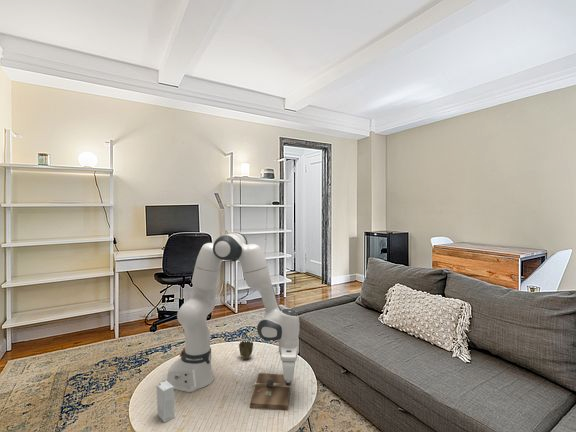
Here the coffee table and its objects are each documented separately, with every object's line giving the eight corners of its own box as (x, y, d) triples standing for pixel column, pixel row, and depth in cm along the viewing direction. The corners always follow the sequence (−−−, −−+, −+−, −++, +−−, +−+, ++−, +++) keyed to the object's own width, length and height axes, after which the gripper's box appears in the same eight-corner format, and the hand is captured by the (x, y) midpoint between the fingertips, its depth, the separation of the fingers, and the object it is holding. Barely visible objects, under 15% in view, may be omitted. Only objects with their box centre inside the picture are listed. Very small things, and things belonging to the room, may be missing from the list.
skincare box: (175, 417, 117) (175, 386, 117) (163, 423, 114) (163, 391, 114) (167, 409, 121) (167, 379, 121) (156, 415, 118) (156, 384, 118)
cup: (250, 362, 159) (250, 347, 158) (236, 361, 160) (236, 345, 160) (254, 355, 166) (255, 341, 166) (241, 354, 167) (241, 339, 167)
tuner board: (249, 408, 123) (250, 402, 123) (258, 377, 145) (258, 372, 145) (287, 410, 123) (287, 404, 122) (290, 379, 144) (290, 374, 144)
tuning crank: (253, 387, 134) (253, 373, 134) (254, 383, 137) (254, 369, 137) (290, 389, 133) (291, 375, 133) (291, 385, 136) (291, 371, 136)
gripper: (282, 337, 144) (281, 366, 145) (280, 359, 124) (280, 392, 125) (295, 337, 144) (295, 366, 145) (296, 359, 124) (296, 393, 125)
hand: (288, 378), depth 135 cm, fingers open, 3 cm apart
